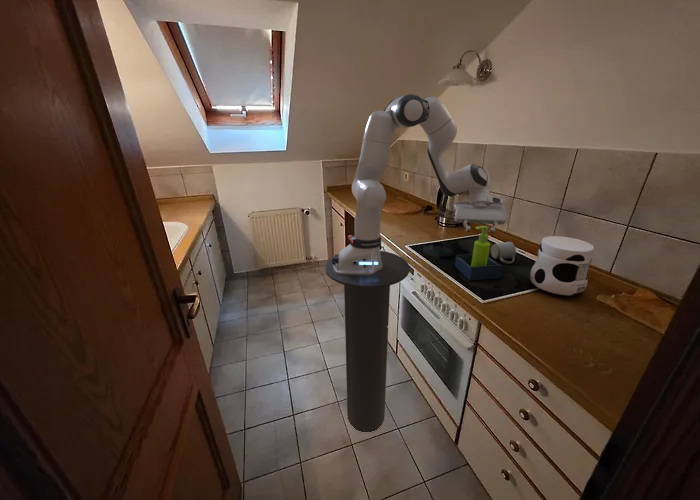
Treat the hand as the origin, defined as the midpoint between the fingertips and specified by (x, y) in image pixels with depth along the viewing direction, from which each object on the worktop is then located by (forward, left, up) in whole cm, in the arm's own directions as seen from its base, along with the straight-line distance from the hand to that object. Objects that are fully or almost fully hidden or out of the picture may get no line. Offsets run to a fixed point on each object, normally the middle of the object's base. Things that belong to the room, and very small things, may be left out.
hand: (480, 231), depth 123 cm
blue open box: (-2, -5, -16) cm, 17 cm away
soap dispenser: (-2, -5, -16) cm, 17 cm away
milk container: (+20, -22, -16) cm, 34 cm away
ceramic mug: (+17, +5, -16) cm, 24 cm away
